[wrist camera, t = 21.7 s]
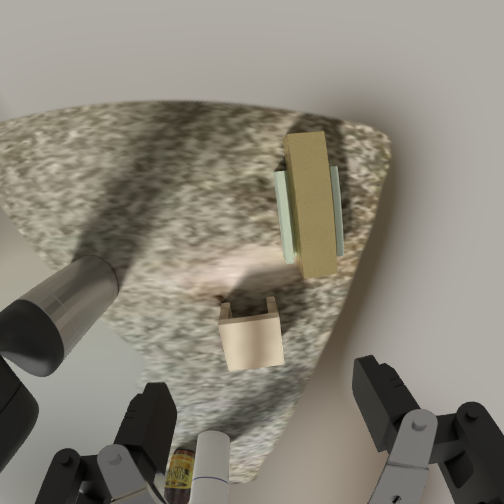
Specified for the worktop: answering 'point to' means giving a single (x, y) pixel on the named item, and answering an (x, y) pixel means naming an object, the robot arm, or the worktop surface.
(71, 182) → the worktop surface
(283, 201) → the cradle
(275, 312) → the beige u-shaped block
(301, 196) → the long yellowish block
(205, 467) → the cylindrical container
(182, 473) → the sauce bottle
